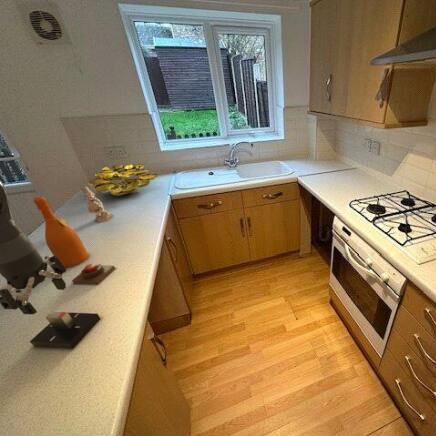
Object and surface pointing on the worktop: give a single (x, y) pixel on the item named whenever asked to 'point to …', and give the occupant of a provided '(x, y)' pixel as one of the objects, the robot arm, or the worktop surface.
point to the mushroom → (118, 188)
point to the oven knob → (60, 320)
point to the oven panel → (66, 332)
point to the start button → (90, 268)
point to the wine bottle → (61, 237)
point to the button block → (94, 275)
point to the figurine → (96, 206)
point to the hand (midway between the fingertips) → (48, 300)
